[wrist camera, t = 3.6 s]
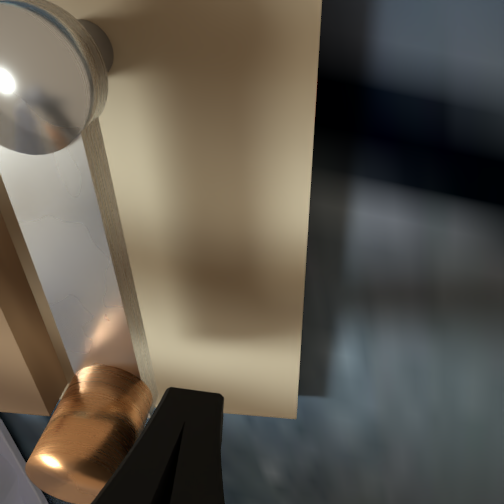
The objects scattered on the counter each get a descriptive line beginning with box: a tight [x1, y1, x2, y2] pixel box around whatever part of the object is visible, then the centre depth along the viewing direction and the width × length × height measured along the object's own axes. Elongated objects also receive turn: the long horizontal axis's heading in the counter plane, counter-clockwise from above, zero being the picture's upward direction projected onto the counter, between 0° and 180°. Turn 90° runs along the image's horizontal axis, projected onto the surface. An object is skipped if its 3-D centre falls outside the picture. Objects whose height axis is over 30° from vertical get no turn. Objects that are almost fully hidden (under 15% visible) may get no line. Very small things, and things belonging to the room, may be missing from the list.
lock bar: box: [0, 0, 159, 504], centre depth 9 cm, size 10×2×3 cm, turn 1°
